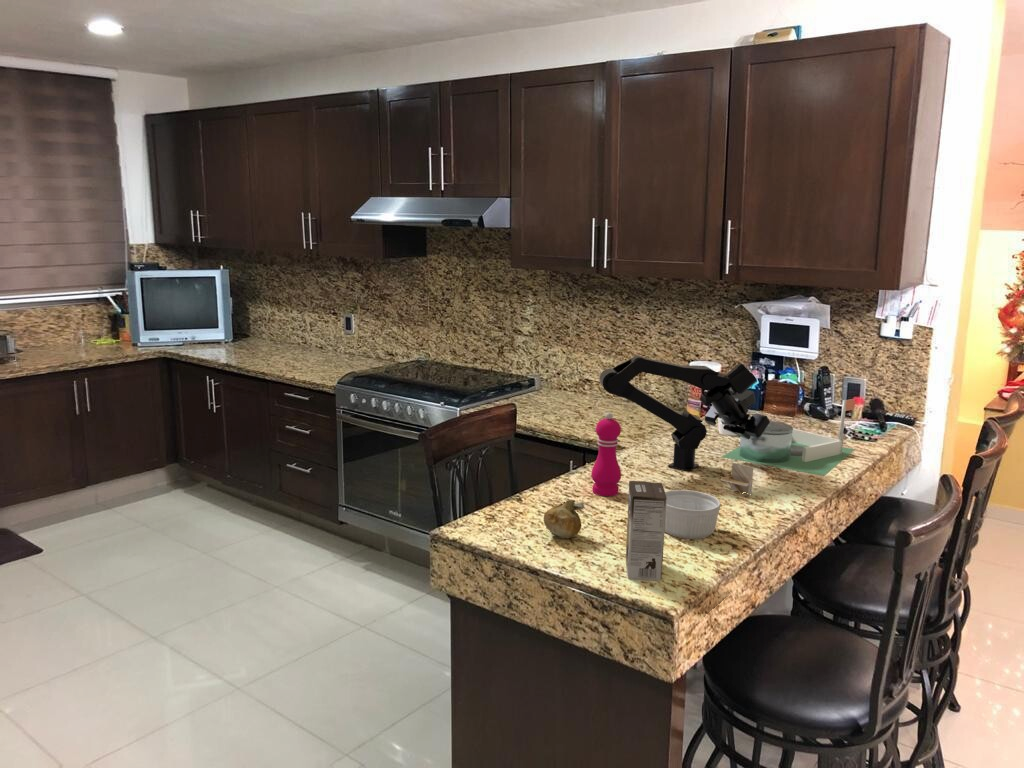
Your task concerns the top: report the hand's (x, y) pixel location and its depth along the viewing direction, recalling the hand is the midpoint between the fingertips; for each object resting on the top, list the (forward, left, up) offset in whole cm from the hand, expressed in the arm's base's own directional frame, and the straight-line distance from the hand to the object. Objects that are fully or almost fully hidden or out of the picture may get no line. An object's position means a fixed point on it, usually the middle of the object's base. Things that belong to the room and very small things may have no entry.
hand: (748, 437), depth 223 cm
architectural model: (-30, -8, -7) cm, 32 cm away
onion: (-82, +11, -7) cm, 83 cm away
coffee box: (-87, -10, -7) cm, 88 cm away
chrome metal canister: (+7, -2, -6) cm, 10 cm away
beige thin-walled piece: (+22, -8, -7) cm, 25 cm away
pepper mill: (-51, +18, -7) cm, 54 cm away
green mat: (+16, -7, -7) cm, 19 cm away
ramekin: (-62, -8, -7) cm, 63 cm away
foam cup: (+27, +16, -7) cm, 32 cm away
